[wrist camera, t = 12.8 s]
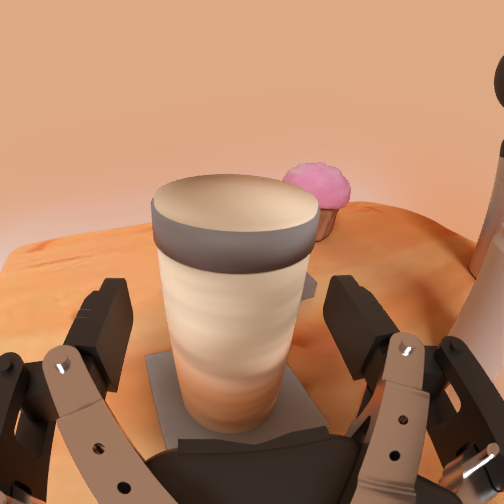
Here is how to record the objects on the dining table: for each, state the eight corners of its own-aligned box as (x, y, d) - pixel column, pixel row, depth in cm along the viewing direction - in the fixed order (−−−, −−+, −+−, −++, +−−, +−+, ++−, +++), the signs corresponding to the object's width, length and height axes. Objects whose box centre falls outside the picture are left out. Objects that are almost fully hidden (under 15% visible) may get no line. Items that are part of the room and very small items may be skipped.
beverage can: (432, 337, 20) (485, 210, 14) (482, 347, 18) (538, 233, 13) (439, 392, 15) (523, 246, 9) (495, 397, 13) (576, 270, 7)
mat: (264, 333, 21) (265, 329, 20) (328, 427, 13) (330, 424, 13) (146, 358, 17) (144, 355, 17) (177, 478, 10) (175, 476, 10)
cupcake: (346, 233, 39) (358, 166, 34) (332, 257, 32) (348, 174, 27) (290, 218, 42) (297, 153, 38) (265, 238, 36) (272, 160, 31)
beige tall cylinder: (254, 350, 19) (273, 172, 13) (294, 416, 14) (357, 217, 8) (172, 368, 16) (146, 179, 11) (196, 446, 12) (159, 238, 6)
